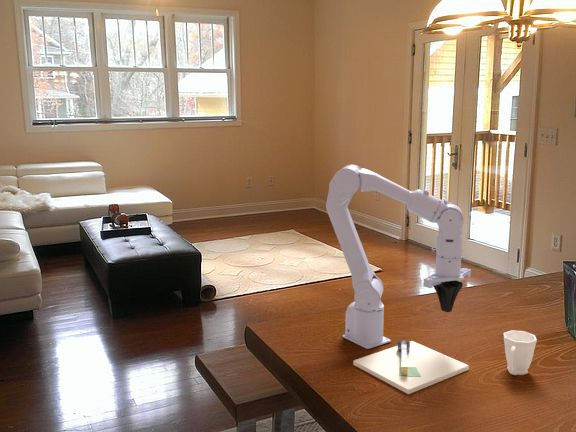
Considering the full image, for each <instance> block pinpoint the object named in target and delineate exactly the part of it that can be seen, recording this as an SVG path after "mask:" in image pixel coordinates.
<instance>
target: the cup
mask: <svg viewBox="0 0 576 432" xmlns="http://www.w3.org/2000/svg"><path fill="white" fill-rule="evenodd" d="M503 341H504V342H503V343H504V353H505V358H506V363H507V366H506V367H507V371H508V372H509V374H510V375H512V376H517V375H518V376H524V375H526V374H528V373H529V371H528V370H529V369H530V367H531V363H532V361H533V358H534V353H535V349H536V345H537V342H538V339H537V337H536V335H535V334H533V333H530V332H528V331H524V330H513V329H511V330H509V331H506V332H503Z"/></svg>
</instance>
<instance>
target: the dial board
mask: <svg viewBox="0 0 576 432" xmlns="http://www.w3.org/2000/svg"><path fill="white" fill-rule="evenodd" d="M409 342H410V351H409V352H407V363H408V375H401V352H399V351H398V345H394V346H392V347H390V348H386V349H384V350H380V351H378V352H374V353H371V354H369V355H366V356H362V357H359V358H357V359H354V360H353V361H352V362H353V363H352V365H353V366H355V367H356V368H359V369H360V370H362V371H365V372H366V373H368V374H370V375H372V376H373V377H374V378H375V377H376V378H377V379H378V380H381V381H383V382H384V383H386V384H388V385H390V386H391V387H393V388H396V389H398V390H399V391H401V392H403V393H405V394H407V395H410V394H413V393H415V392H417V391H419V390H422V389H425V388H428V387H430V386H432V385H435V384H437V383H439V382H442V381H445V380H447V379H450V378H452V377H454V376H457V375H459V374H461V373H464V372H467V371H469V370H470V365H469V364H467V363H465V362H462V361H460V360H457V359H455V358H453V357H450V356H447V355H445V354H444V353H441V352H439V351H436V350H434V349H431V348H429V347H428V346H425V345H424V344H420V343H419V342H415V341H414V340H411V341H410V340H409Z"/></svg>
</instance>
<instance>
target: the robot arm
mask: <svg viewBox="0 0 576 432" xmlns="http://www.w3.org/2000/svg"><path fill="white" fill-rule="evenodd" d="M328 183H329V184H328V185H329V188H328V192H327V193H328V194H327V198H326V204H325V209H326V213H327V214H328V217H329V220H330V222H331V225H332V228H333V231H334V234H335V235H336V238H337V241H338V243H339V245H340V249H341V251H342V253H343V257H344V259H345V261H346V264H347V266H348V270H349V271H350V274H351V283H352V289H353V290H354V295H353V300H354V301H352V302H351V303H349V305H348V306H347V308H346V309H345V310H346V311H345V321H344V322H345V325H344V326H345V330H344V331H345V333H344V334H342V338H344V339H346V340H348V341H350V342H352V343H354V344H356V345H357V346H360V347H362V348H363V349H366V350H369V349H372V348H376V347H378V346H381V345H384V344H388V343H390V342H392V341H391V339H390V338H388V337H386V336H384V317H385V316H384V314H385V313H384V312H385V305H384V303H383V302H382V300H381V298H382V295H383V294H384V291H385V290H384V289H385V287H384V282H383V281H382V280H381V278H379V277H378V276H377V275H376V273H375V270H374V268H373V267H372V266H371V265H370V262H369V260H368V257H367V255H366V252H365V249H364V247H363V244H362V241H361V239H360V237H359V234H358V231H357V229H356V226H355V223H354V221H353V218H352V215H351V213H350V210H349V208H348V207H349V204H350V202H351V200H352V198H353V197H354V194H355V193H356V192H357V191H359V189H360V193H363V192H371V191H375V192H377V193H380V194H382V195H384V196H387V197H389V198H391V199H393V200H396V201H398V202H400V203H403V204H404V205H405V206H406V209H407V212H409V213H410V214H413V215H416V216H418V217H419V218H422V219H423V220H426V221H428V222H430V223H433V224H435V223H436V224H437V226H438V230H437V231H438V233H437V235H436V248H435V249H436V250H435V251H436V253H435V254H436V255H435V271H434V272H433V273H432V274H430V275H428V276H427V277H424V278H423V285H422V286H423V287H425V288H427V289H428V288H429V289H432V288H433V289H434V290H435V292H436V294H437V297H438V301H439V306H440V310H441V311H442V312H444V313H451V312H452V310H453V308H454V305H455V301H456V299H457V297H458V294H459V293H460V290H461V289H462V288H463V282H462V281H464V280H465V279H464V278H467V279H469V278H471V277H472V276H471V275H472V269H470V268H467V267H462V254H463V253H462V251H463V250H462V249H463V236H462V234H463V226H464V224H465V219H464V215H463V210H462V209H461V208H460V207H459V206H458V205H457V204H456V203H454V202H449V200H448V199H441V198H440V197H439V198H438V197H436V196H434V195H432V194H430V190H428V189H425V188H424V190H421V189H420V188H419V189H415V190H409V189H407V188H405V187H403V186H402V185H399V184H398V183H396V182H393V181H391V180H390V179H388V178H387V177H384V176H382V175H380V174H379V173H376V172H374V171H372V170H369V169H366V168H364V167H363V168H361V167H360V166H359V165H356V164H347V165H345V166H343V167H342V168H341V169H338V170H337V172H335V174H334V175H333V177H332V178H331V180H330V182H328ZM461 267H462V268H461Z"/></svg>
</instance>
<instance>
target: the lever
mask: <svg viewBox="0 0 576 432" xmlns="http://www.w3.org/2000/svg"><path fill="white" fill-rule="evenodd" d="M397 346H398V351H399V352H401V375H408V363H407V352H409V351H410V340H407V339H399V340H398V341H397Z"/></svg>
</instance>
